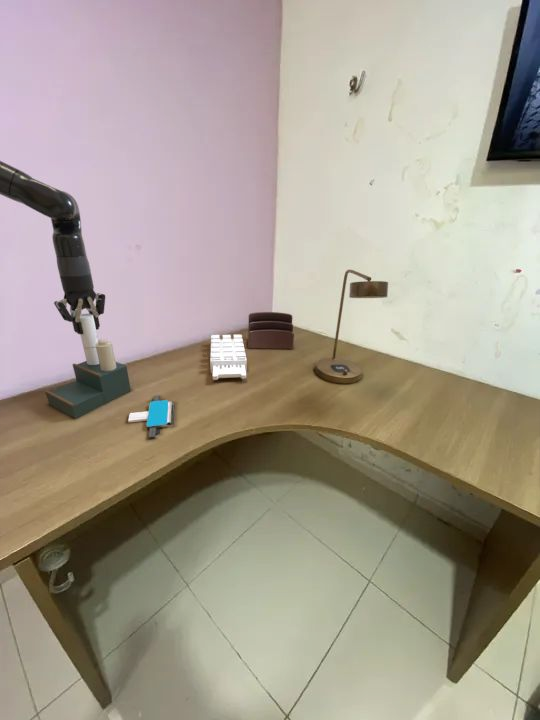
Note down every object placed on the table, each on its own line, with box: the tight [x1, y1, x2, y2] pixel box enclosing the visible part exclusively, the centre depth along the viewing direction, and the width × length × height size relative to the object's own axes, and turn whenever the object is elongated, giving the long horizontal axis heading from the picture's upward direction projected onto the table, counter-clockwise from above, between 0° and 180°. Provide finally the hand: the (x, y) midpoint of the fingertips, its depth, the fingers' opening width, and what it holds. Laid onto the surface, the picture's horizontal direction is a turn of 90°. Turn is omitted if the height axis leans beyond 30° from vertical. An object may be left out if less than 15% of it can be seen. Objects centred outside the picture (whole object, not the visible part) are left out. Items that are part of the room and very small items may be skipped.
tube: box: [79, 313, 99, 365], centre depth 93 cm, size 4×4×15 cm
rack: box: [44, 360, 132, 419], centre depth 93 cm, size 13×18×10 cm
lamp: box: [315, 269, 389, 385], centre depth 105 cm, size 17×27×38 cm, turn 8°
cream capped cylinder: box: [95, 338, 117, 371], centre depth 92 cm, size 4×4×9 cm
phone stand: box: [127, 395, 175, 440], centre depth 87 cm, size 20×12×2 cm, turn 15°
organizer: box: [209, 334, 248, 381], centre depth 121 cm, size 13×5×35 cm
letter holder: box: [247, 311, 295, 350], centre depth 137 cm, size 10×20×14 cm, turn 93°
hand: (87, 331), depth 92 cm, fingers closed on tube, 4 cm apart
